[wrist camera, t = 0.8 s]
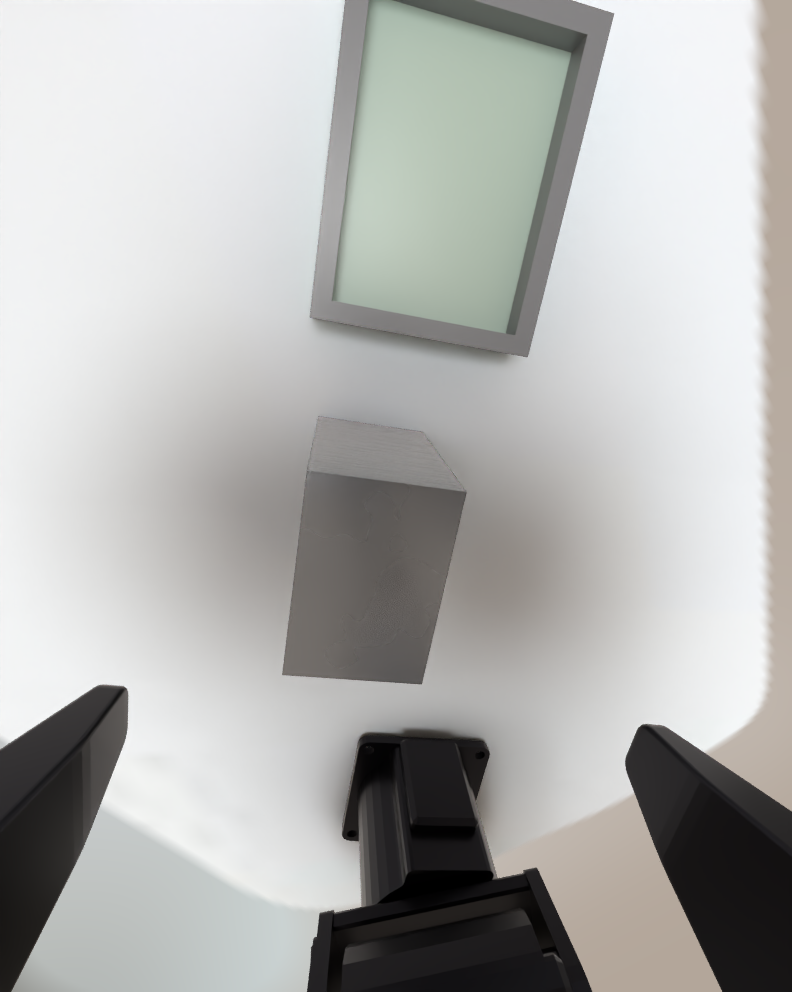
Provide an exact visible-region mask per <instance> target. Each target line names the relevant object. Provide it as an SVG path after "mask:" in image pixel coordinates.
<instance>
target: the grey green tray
mask: <svg viewBox="0 0 792 992" xmlns="http://www.w3.org/2000/svg"><path fill="white" fill-rule="evenodd" d="M613 16H614V13H611V12H608V11H604V10H601V9H598V8H595V7H591V6H588V5H585V4H582V3H579V2H575V1H572V0H345V6H344V15H343V24H342V33H341V42H340V51H339V60H338V69H337V78H336V87H335V96H334V105H333V114H332V123H331V132H330V141H329V150H328V159H327V168H326V177H325V186H324V195H323V204H322V213H321V222H320V231H319V240H318V249H317V258H316V266H315V275H314V284H313V293H312V302H311V311H310V318H316V319H321V320H327V321H332V322H338V323H343V324H349V325H354V326H359V327H365V328H370V329H376V330H381V331H387V332H392V333H398V334H403V335H409V336H414V337H420V338H425V339H430V340H436V341H441V342H447V343H452V344H458V345H463V346H469V347H474V348H480V349H485V350H491V351H496V352H501V353H507V354H512V355H518V356H523V357H528V354H529V350H530V346H531V342H532V338H533V334H534V330H535V326H536V322H537V318H538V314H539V310H540V306H541V302H542V298H543V295H544V291H545V287H546V283H547V279H548V275H549V271H550V267H551V263H552V259H553V255H554V251H555V247H556V243H557V239H558V235H559V231H560V227H561V223H562V219H563V215H564V211H565V207H566V203H567V199H568V195H569V191H570V187H571V183H572V179H573V175H574V171H575V167H576V163H577V159H578V155H579V151H580V147H581V143H582V139H583V136H584V132H585V128H586V124H587V120H588V116H589V112H590V108H591V104H592V100H593V96H594V92H595V88H596V84H597V80H598V76H599V72H600V68H601V64H602V60H603V56H604V52H605V48H606V44H607V40H608V36H609V32H610V28H611V24H612V20H613Z"/></svg>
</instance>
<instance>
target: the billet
mask: <svg viewBox="0 0 792 992" xmlns="http://www.w3.org/2000/svg"><path fill="white" fill-rule="evenodd" d="M465 496H466V490H465V489H464V488H463V486H462V485H461V484H460V482H459V481H458V480H457V478H456V477H455V475H454V474H453V473H452V471H451V470H450V469H449V467H448V466H447V464H446V463H445V462H444V460H443V459H442V458H441V456H440V455H439V454H438V452H437V451H436V449H435V448H434V447H433V445H432V444H431V443H430V441H429V440H428V439H427V437H426V436H425V434H424V433H423V432H420V431H413V430H407V429H400V428H393V427H387V426H380V425H374V424H367V423H360V422H354V421H347V420H341V419H334V418H327V417H321V416H318V420H317V425H316V430H315V435H314V440H313V444H312V449H311V454H310V459H309V464H308V468H307V475H306V483H305V492H304V500H303V508H302V516H301V525H300V533H299V541H298V549H297V558H296V566H295V574H294V582H293V591H292V599H291V607H290V616H289V624H288V632H287V640H286V649H285V657H284V665H283V673H282V675H292V676H306V677H321V678H336V679H351V680H365V681H380V682H395V683H410V684H422V681H423V677H424V672H425V668H426V664H427V659H428V655H429V651H430V647H431V642H432V638H433V634H434V629H435V625H436V621H437V617H438V612H439V608H440V604H441V599H442V595H443V591H444V586H445V582H446V578H447V574H448V569H449V565H450V561H451V556H452V552H453V548H454V543H455V539H456V535H457V531H458V526H459V522H460V518H461V513H462V509H463V505H464V501H465Z"/></svg>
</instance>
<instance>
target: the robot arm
mask: <svg viewBox="0 0 792 992" xmlns="http://www.w3.org/2000/svg"><path fill="white" fill-rule="evenodd" d="M127 728H128V691H127V689H126V688H125V687H124V686H114V685H99V686H96V687H94V688H93V689H91V690H90V691H88V692H87V693H85V694H84V695H82V696H81V697H79V698H78V699H76V700H75V701H73V702H71V703H70V704H68V705H67V706H65V707H64V708H62V709H61V710H59V711H58V712H56V713H55V714H53V715H52V716H50V717H49V718H47V719H46V720H44V721H43V722H41V723H40V724H38V725H36V726H35V727H33V728H32V729H30V730H29V731H27V732H26V733H24V734H23V735H21V736H20V737H18V738H17V739H15V740H14V741H12V742H11V743H9V744H8V745H6V746H5V747H3V748H2V749H0V992H11V991H12V989H13V987H14V985H15V983H16V981H17V979H18V977H19V975H20V973H21V972H22V970H23V968H24V966H25V963H26V962H27V959H28V958H29V956H30V953H31V952H32V950H33V948H34V946H35V944H36V942H37V940H38V938H39V936H40V934H41V932H42V930H43V928H44V926H45V924H46V922H47V920H48V918H49V916H50V914H51V912H52V910H53V908H54V906H55V904H56V902H57V900H58V898H59V896H60V894H61V892H62V890H63V888H64V886H65V884H66V882H67V880H68V878H69V876H70V874H71V872H72V870H73V868H74V866H75V864H76V862H77V860H78V858H79V856H80V854H81V851H82V849H83V847H84V845H85V842H86V840H87V837H88V835H89V833H90V830H91V828H92V825H93V822H94V820H95V817H96V815H97V812H98V810H99V807H100V804H101V802H102V799H103V797H104V794H105V791H106V789H107V786H108V784H109V781H110V779H111V776H112V773H113V771H114V768H115V766H116V763H117V760H118V758H119V755H120V753H121V750H122V748H123V745H124V742H125V739H126V734H127ZM368 746H371V747H369V748H367V747H368ZM477 752H478V753H477ZM489 755H490V752H489V750H488V747H487V745H486V743H485V742H483V741H472V740H451V739H431V738H411V737H391V736H371V735H370V736H364V737H362V738H361V739H360V740H359V742H358V746H357V751H356V756H355V761H354V767H353V772H352V777H351V782H350V788H349V793H348V798H347V803H346V808H345V814H344V819H343V824H342V836H343V838H344V839H346V840H349V841H359V853H360V879H361V904H362V907H360V908H355V909H350V910H345V911H341V912H336V913H335V912H334V910H331V911H327V912H322V913H320V915H319V924H318V933H317V937H315V938H314V940H313V946H312V947H311V964H310V973H309V981H308V989H307V992H592V990H591V988H590V985H589V982H588V980H587V977H586V975H585V972H584V970H583V968H582V965H581V963H580V961H579V959H578V957H577V954H576V952H575V950H574V948H573V945H572V943H571V941H570V939H569V937H568V935H567V932H566V930H565V928H564V926H563V924H562V921H561V919H560V917H559V915H558V913H557V910H556V908H555V906H554V904H553V902H552V900H551V897H550V895H549V893H548V891H547V889H546V886H545V884H544V882H543V880H542V878H541V876H540V873H539V871H538V869H537V868H532V869H527V870H524V872H523V873H522V874H517V875H512V876H508V877H503V878H497V875H496V871H495V867H494V864H493V860H492V857H491V853H490V850H489V846H488V843H487V839H486V836H485V832H484V829H483V825H482V822H481V818H480V815H479V811H478V807H477V804H476V798H477V795H478V792H479V789H480V785H481V782H482V779H483V775H484V772H485V769H486V766H487V762H488V759H489ZM625 766H626V771H627V774H628V777H629V779H630V782H631V785H632V787H633V790H634V793H635V795H636V798H637V800H638V803H639V806H640V808H641V811H642V814H643V816H644V819H645V822H646V824H647V827H648V829H649V832H650V835H651V837H652V840H653V843H654V845H655V848H656V850H657V853H658V855H659V858H660V860H661V862H662V865H663V867H664V869H665V871H666V873H667V876H668V878H669V880H670V882H671V884H672V886H673V888H674V891H675V893H676V895H677V897H678V899H679V901H680V903H681V905H682V907H683V910H684V912H685V914H686V916H687V918H688V920H689V922H690V924H691V926H692V928H693V931H694V933H695V935H696V937H697V939H698V941H699V943H700V946H701V948H702V950H703V952H704V954H705V956H706V958H707V960H708V962H709V964H710V967H711V969H712V971H713V973H714V975H715V977H716V979H717V981H718V984H719V986H720V987H721V990H722V992H792V811H790V810H788V809H787V808H785V807H784V806H783V805H781V804H780V803H778V802H777V801H775V800H774V799H772V798H771V797H769V796H768V795H766V794H765V793H763V792H762V791H760V790H759V789H757V788H756V787H754V786H753V785H751V784H750V783H749V782H747V781H745V780H744V779H743V778H741V777H740V776H738V775H737V774H735V773H734V772H732V771H731V770H729V769H728V768H726V767H725V766H723V765H722V764H720V763H719V762H717V761H716V760H714V759H713V758H711V757H710V756H708V755H707V754H705V753H704V752H702V751H701V750H699V749H698V748H697V747H695V746H694V745H692V744H691V743H689V742H688V741H686V740H685V739H683V738H682V737H680V736H679V735H677V734H676V733H674V732H673V731H671V730H670V729H668V728H667V727H665V726H662V725H652V724H643V725H641V726H640V727H639V728H638V729H637V732H636V734H635V736H634V739H633V741H632V743H631V746H630V748H629V751H628V753H627V755H626V760H625Z"/></svg>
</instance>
